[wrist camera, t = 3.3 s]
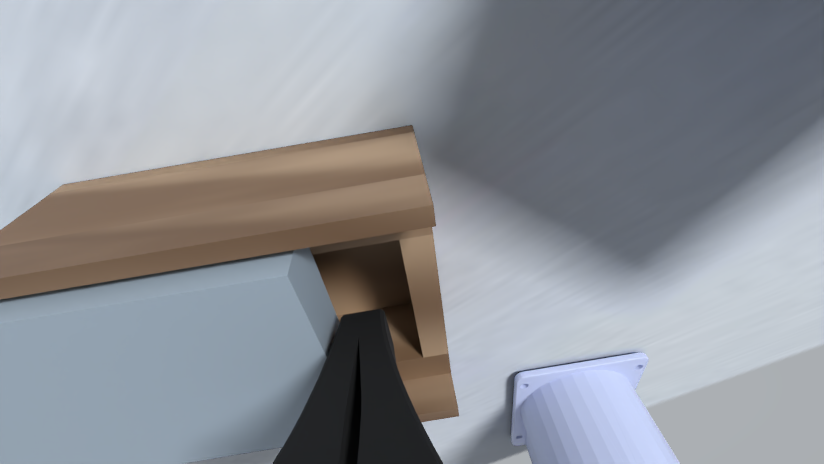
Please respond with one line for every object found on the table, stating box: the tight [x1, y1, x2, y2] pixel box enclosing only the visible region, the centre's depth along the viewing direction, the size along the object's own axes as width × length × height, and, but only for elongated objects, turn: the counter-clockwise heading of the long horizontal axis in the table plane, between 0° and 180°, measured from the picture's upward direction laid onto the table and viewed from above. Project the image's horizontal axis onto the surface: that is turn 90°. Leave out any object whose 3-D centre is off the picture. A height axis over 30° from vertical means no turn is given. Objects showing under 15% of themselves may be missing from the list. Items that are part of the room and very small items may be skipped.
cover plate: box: [0, 248, 339, 464], centre depth 12 cm, size 8×12×2 cm
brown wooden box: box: [0, 125, 459, 422], centre depth 13 cm, size 10×12×5 cm
